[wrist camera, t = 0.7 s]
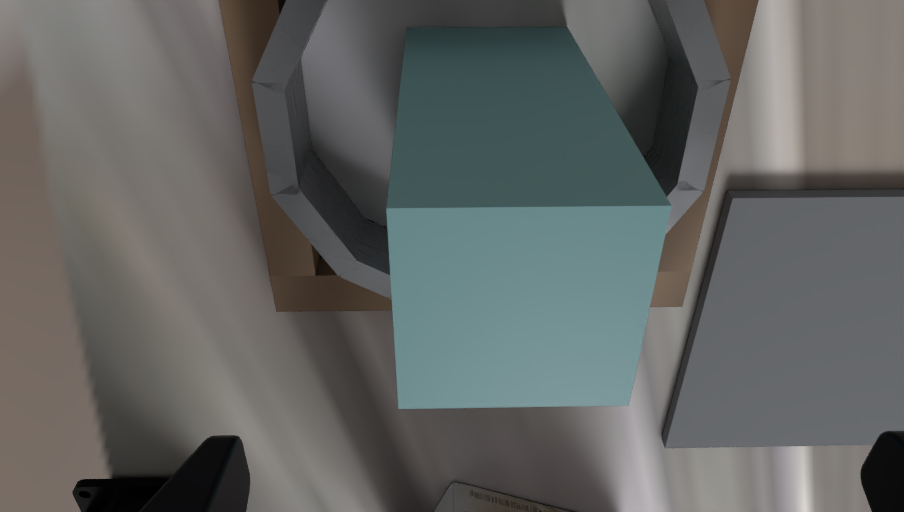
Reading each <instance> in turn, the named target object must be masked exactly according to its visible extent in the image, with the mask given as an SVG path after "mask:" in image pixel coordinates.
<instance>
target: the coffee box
mask: <svg viewBox="0 0 904 512" xmlns="http://www.w3.org/2000/svg"><path fill="white" fill-rule="evenodd" d="M434 512H570V511H566V510H562V509H558V508H554V507H550V506H546V505H542V504H538V503H535V502H531V501H527V500H523V499H520V498H516V497H512V496H508V495H505V494H501V493H497V492H493V491H489V490H485V489H481V488H478V487H474V486H470V485H466V484H461V483H456V482H454V483H452V484H451V485H450V486H449V488H448V489H447V491H446V493H445V494H444V496H443V498H442V499H441V501H440V502H439V504H438V506H437V507H436V509H435V511H434Z"/></svg>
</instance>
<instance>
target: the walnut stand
mask: <svg viewBox="0 0 904 512" xmlns="http://www.w3.org/2000/svg"><path fill="white" fill-rule="evenodd" d="M285 2H286V0H219V4H220V9H221V15H222V20H223V25H224V31H225V36H226V42H227V47H228V53H229V58H230V63H231V69H232V74H233V80H234V85H235V90H236V96H237V101H238V107H239V112H240V117H241V123H242V128H243V134H244V139H245V145H246V150H247V155H248V161H249V166H250V172H251V177H252V182H253V188H254V193H255V199H256V204H257V209H258V215H259V220H260V226H261V231H262V237H263V242H264V247H265V253H266V258H267V264H268V269H269V274H270V280H271V285H272V291H273V296H274V301H275V307H276V312H287V311H367V310H392V299H389V298H387V297H385V296H382V295H380V294H378V293H376V292H373V291H371V290H369V289H366V288H364V287H362V286H359V285H357V284H355V283H352V282H350V281H348V280H345V279H343V278H341V277H340V275H339V276H338V275H337V274H336V273H335V272H334V270H333V269H332V268H331V267H330V266H329V264H328V263H327V262H326V261H325V260H324V258H321V259H320V257H319V252H318V251H317V250H316V249H315V248H314V246H313V245H312V244H311V243H310V242H309V240H308V239H307V238H306V237H305V236H304V234H303V233H302V232H301V231H300V230H299V229H298V227H297V226H296V225H295V224H294V223H293V221H292V220H291V219H290V218H289V217H288V215H287V214H286V213H285V212H284V211H283V209H282V208H281V207H280V206H279V205H278V203H277V202H276V201H275V200H274V199H273V197H272V194H270V188H269V182H268V176H267V170H266V164H265V159H264V153H263V147H262V141H261V135H260V129H259V123H258V117H257V111H256V106H255V100H254V94H253V88H252V82H253V81H252V79H253V77H254V74H255V72H256V70H257V67H258V65H259V63H260V60H261V58H262V56H263V53H264V51H265V49H266V46H267V44H268V42H269V39H270V37H271V35H272V32H273V30H274V27H275V25H276V23H277V20H278V18H279V16H280V13H281V11H282V9H283V6H284V4H285ZM704 2H705V5H706V8H707V11H708V14H709V17H710V19H711V22H712V25H713V28H714V31H715V34H716V37H717V40H718V43H719V46H720V48H721V51H722V54H723V57H724V60H725V63H726V66H727V69H728V72H729V74H730V77H731V78H729V79H730V80H731V81H730V86H729V90H728V94H727V98H726V102H725V106H724V110H723V114H722V119H721V123H720V127H719V131H718V135H717V139H716V143H715V147H714V152H713V156H712V160H711V164H710V168H709V172H708V176H707V180H706V185H705V189H704V190H702V192H703V193H702V194H701V195H700V196H699V197H698V199H697V200H696V201H695V202H694V203H693V204H692V205H691V206H690V208H689V209H688V210H687V211H686V212H685V213H684V214H683V216H682V217H681V218H680V219H679V220H678V221H677V222H676V223H675V225H674V226H673V227H672V228H671V229H670V230H669V231H668V232H667V234H666V235H665V239H664V244H663V248H662V253H661V258H660V262H659V267H658V272H657V276H656V281H655V286H654V290H653V295H652V299H651V304H650V307H682V305H683V301H684V297H685V293H686V289H687V285H688V281H689V277H690V273H691V269H692V265H693V261H694V257H695V253H696V249H697V245H698V241H699V237H700V233H701V229H702V225H703V221H704V217H705V213H706V209H707V205H708V201H709V197H710V193H711V189H712V185H713V181H714V177H715V173H716V169H717V165H718V161H719V157H720V153H721V149H722V145H723V141H724V137H725V133H726V129H727V125H728V121H729V117H730V113H731V109H732V105H733V101H734V96H735V92H736V88H737V84H738V80H739V76H740V72H741V68H742V64H743V60H744V56H745V52H746V48H747V44H748V40H749V36H750V32H751V28H752V24H753V20H754V16H755V12H756V8H757V4H758V0H704Z"/></svg>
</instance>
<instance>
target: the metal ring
mask: <svg viewBox="0 0 904 512" xmlns="http://www.w3.org/2000/svg"><path fill="white" fill-rule="evenodd" d="M326 1H327V0H286V2H285V4H284V6H283V9H282V11H281V13H280V16H279V18H278V20H277V23H276V25H275V27H274V30H273V32H272V35H271V37H270V39H269V42H268V44H267V46H266V49H265V51H264V53H263V56H262V58H261V60H260V63H259V65H258V67H257V70H256V72H255V74H254V77H253V79H252V81H253V82H252V88H253V94H254V100H255V106H256V111H257V117H258V123H259V129H260V135H261V141H262V147H263V153H264V159H265V164H266V170H267V176H268V182H269V188H270V194H272V197H273V199H274V200H275V201H276V202H277V203H278V205H279V206H280V207H281V208H282V209H283V211H284V212H285V213H286V214H287V215H288V217H289V218H290V219H291V220H292V221H293V223H294V224H295V225H296V226H297V227H298V229H299V230H300V231H301V232H302V233H303V234H304V236H305V237H306V238H307V239H308V240H309V242H310V243H311V244H312V245H313V246H314V248H315V249H316V250H317V251H318V252H319V254H320V255H321V256H322V257H323V258H324V260H325V261H326V262H327V263H328V264H329V266H330V267H331V268H332V269H333V270H334V272H335V273H336V274H337V275H338V276H339V275H340V277H341V278H343V279H345V280H348V281H350V282H352V283H355V284H357V285H359V286H362V287H364V288H366V289H369V290H371V291H373V292H376V293H378V294H380V295H382V296H385V297H387V298H389V299H392V295H391V279H390V262H389V246H388V229H387V228H385V227H383V226H381V225H379V224H377V223H375V222H372V221H370V220H368V219H366V218H364V217H363V216H362V215H361V213H360V212H359V211H358V209H357V208H356V207H355V205H354V204H353V203H352V201H351V200H350V199H349V197H348V196H347V195H346V194H345V192H344V191H343V190H342V188H341V187H340V186H339V184H338V183H337V182H336V180H335V179H334V178H333V176H332V175H331V174H330V173H329V171H328V170H327V169H326V167H325V166H324V165H323V163H322V162H321V161H320V159H319V158H318V157H317V155H316V154H315V153H314V151H313V150H312V146H311V138H310V130H309V122H308V114H307V106H306V98H305V90H304V82H303V74H302V66H301V56H302V54H303V52H304V49H305V47H306V45H307V43H308V41H309V39H310V36H311V34H312V32H313V30H314V28H315V25H316V23H317V21H318V19H319V17H320V15H321V12H322V10H323V8H324V6H325V4H326ZM648 1H649V4H650V6H651V9H652V12H653V14H654V17H655V19H656V22H657V24H658V27H659V29H660V32H661V35H662V37H663V40H664V42H665V45H666V47H667V50H668V52H669V55H670V59H669V65H668V70H667V76H666V81H665V86H664V92H663V97H662V102H661V108H660V113H659V119H658V124H657V129H656V135H655V140H654V145H653V148H652V149H651V150H650V151H649V153H648V154H647V155H646V156H645V158H644V159H645V161H646V163H647V164H648V166H649V168H650V170H651V171H652V173H653V175H654V176H655V178H656V180H657V181H658V183H659V185H660V187H661V188H662V190H663V192H664V193H665V195H666V197H667V199H668V200H669V202H670V204H671V205H672V206H671V211H670V216H669V220H668V225H667V230H666V234H667V232H668V231H669V230H670V229H671V228H672V227H673V226H674V225H675V223H676V222H677V221H678V220H679V219H680V218H681V217H682V216H683V214H684V213H685V212H686V211H687V210H688V209H689V208H690V206H691V205H692V204H693V203H694V202H695V201H696V200H697V199H698V197H699V196H700V195H701V194H702V193H703V192H702V190H704V189H705V185H706V180H707V176H708V172H709V168H710V164H711V160H712V156H713V152H714V147H715V143H716V139H717V135H718V131H719V127H720V123H721V119H722V114H723V110H724V106H725V102H726V98H727V94H728V90H729V86H730V81H731V80H730V79H729V78H731V77H730V74H729V72H728V69H727V66H726V63H725V60H724V57H723V54H722V51H721V48H720V46H719V43H718V40H717V37H716V34H715V31H714V28H713V25H712V22H711V19H710V17H709V14H708V11H707V8H706V5H705V2H704V0H648ZM666 234H665V235H666Z"/></svg>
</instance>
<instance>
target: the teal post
mask: <svg viewBox="0 0 904 512" xmlns="http://www.w3.org/2000/svg"><path fill="white" fill-rule="evenodd" d="M671 206H672V205H671V204H670V202H669V200H668V199H667V197H666V195H665V193H664V192H663V190H662V188H661V187H660V185H659V183H658V181H657V180H656V178H655V176H654V175H653V173H652V171H651V170H650V168H649V166H648V164H647V163H646V161H645V159H644V158H643V156H642V154H641V152H640V151H639V149H638V147H637V146H636V144H635V142H634V140H633V139H632V137H631V135H630V134H629V132H628V130H627V128H626V127H625V125H624V123H623V122H622V120H621V118H620V116H619V115H618V113H617V111H616V110H615V108H614V106H613V105H612V103H611V101H610V99H609V98H608V96H607V94H606V93H605V91H604V89H603V87H602V86H601V84H600V82H599V81H598V79H597V77H596V75H595V74H594V72H593V70H592V69H591V67H590V65H589V63H588V62H587V60H586V58H585V57H584V55H583V53H582V51H581V50H580V48H579V46H578V45H577V43H576V41H575V40H574V38H573V36H572V34H571V33H570V31H569V29H568V28H567V27H461V28H407V30H406V39H405V47H404V56H403V65H402V74H401V83H400V91H399V100H398V109H397V118H396V127H395V136H394V144H393V153H392V162H391V171H390V180H389V189H388V197H387V206H386V213H387V229H388V246H389V262H390V279H391V295H392V312H393V329H394V345H395V362H396V378H397V395H398V409H436V408H500V407H563V406H627V405H629V402H630V397H631V393H632V388H633V383H634V379H635V374H636V369H637V365H638V360H639V355H640V351H641V346H642V341H643V337H644V332H645V327H646V323H647V318H648V313H649V309H650V304H651V299H652V295H653V290H654V286H655V281H656V276H657V272H658V267H659V262H660V258H661V253H662V248H663V244H664V239H665V234H666V230H667V225H668V220H669V216H670V211H671Z"/></svg>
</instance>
